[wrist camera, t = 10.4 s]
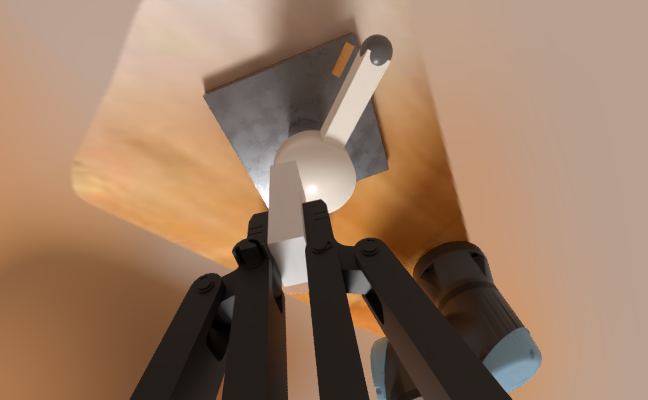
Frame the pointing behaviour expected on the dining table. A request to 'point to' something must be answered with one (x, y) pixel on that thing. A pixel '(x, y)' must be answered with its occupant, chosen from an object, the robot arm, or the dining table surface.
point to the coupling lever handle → (337, 130)
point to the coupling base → (293, 110)
